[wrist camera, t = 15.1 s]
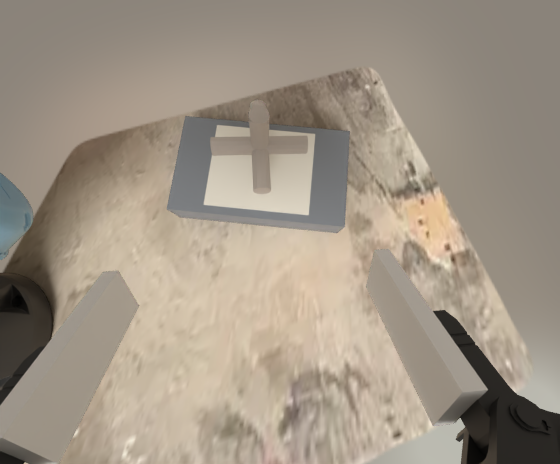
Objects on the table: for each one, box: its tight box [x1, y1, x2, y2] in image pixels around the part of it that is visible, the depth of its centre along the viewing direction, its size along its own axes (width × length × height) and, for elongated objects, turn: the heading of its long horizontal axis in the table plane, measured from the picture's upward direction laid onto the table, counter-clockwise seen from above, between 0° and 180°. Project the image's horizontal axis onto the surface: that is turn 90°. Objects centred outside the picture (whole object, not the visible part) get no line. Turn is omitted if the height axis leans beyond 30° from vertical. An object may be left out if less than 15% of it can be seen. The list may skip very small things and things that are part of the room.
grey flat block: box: [167, 116, 350, 233], centre depth 32 cm, size 22×13×4 cm, turn 84°
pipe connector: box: [210, 100, 308, 194], centre depth 25 cm, size 10×10×10 cm
